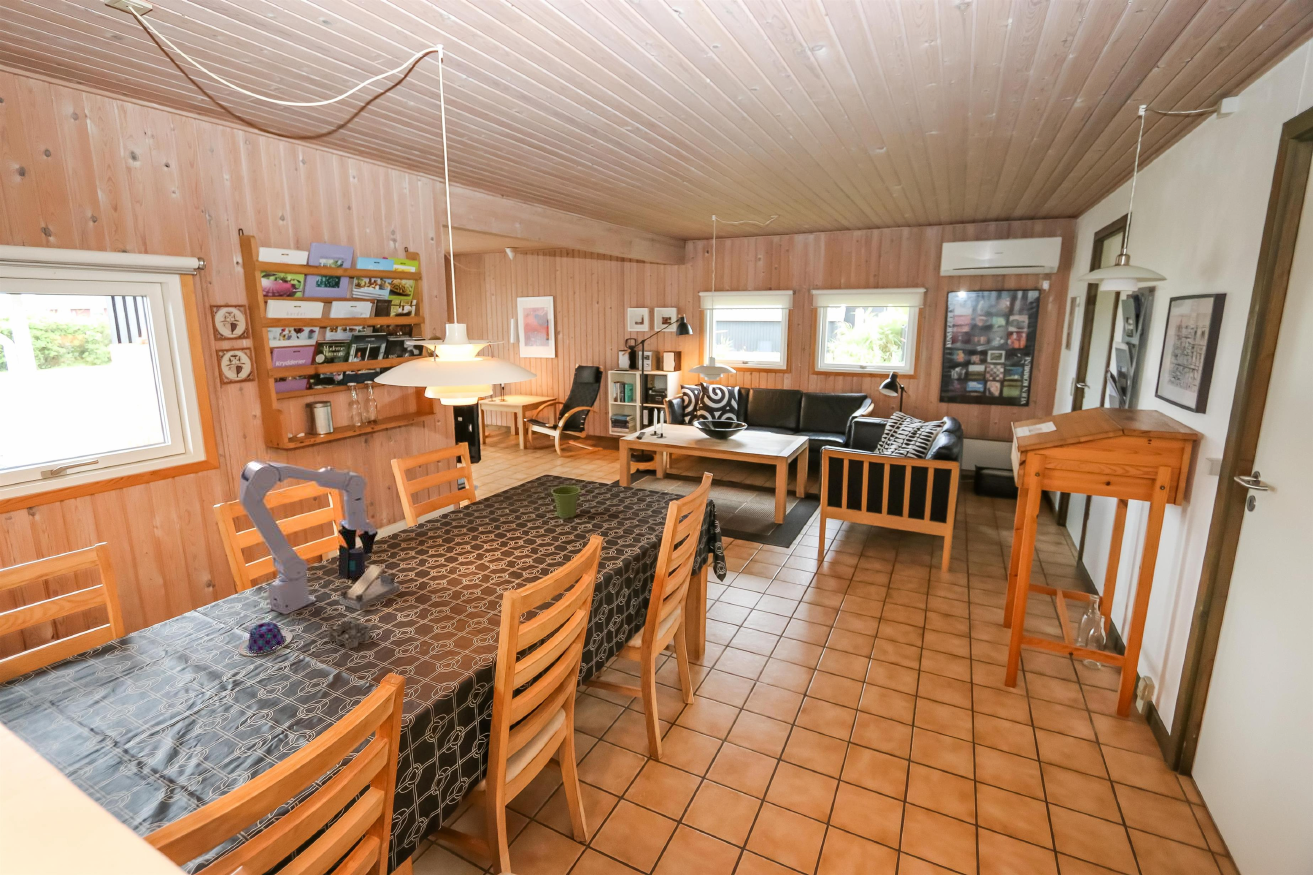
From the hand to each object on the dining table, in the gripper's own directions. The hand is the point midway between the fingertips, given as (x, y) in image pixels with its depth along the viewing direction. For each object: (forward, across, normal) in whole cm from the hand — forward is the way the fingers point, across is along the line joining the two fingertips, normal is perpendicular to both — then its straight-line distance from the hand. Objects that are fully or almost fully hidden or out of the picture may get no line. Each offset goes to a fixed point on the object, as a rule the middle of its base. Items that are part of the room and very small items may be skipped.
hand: (360, 551), depth 192 cm
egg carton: (+11, -26, +25) cm, 37 cm away
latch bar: (+5, -11, +7) cm, 14 cm away
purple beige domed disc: (+11, -9, +36) cm, 39 cm away
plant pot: (+10, -24, -78) cm, 83 cm away
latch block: (+10, -11, +6) cm, 16 cm away
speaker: (+10, +7, -2) cm, 12 cm away
